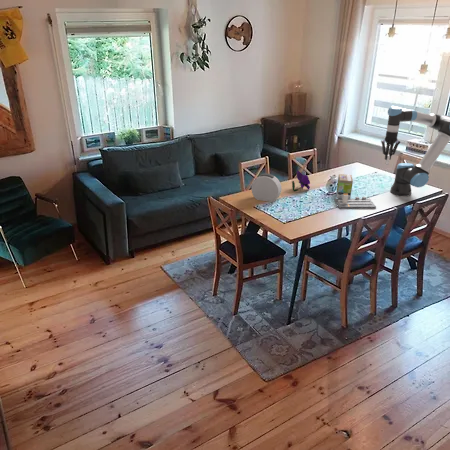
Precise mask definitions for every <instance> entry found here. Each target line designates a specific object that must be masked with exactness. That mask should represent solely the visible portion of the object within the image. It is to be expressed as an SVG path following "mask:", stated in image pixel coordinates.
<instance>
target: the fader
mask: <svg viewBox="0 0 450 450" xmlns="http://www.w3.org/2000/svg"><path fill="white" fill-rule="evenodd" d="M347 201H348V194H343V199H342V202H343V203H347Z"/></svg>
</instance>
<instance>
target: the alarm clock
mask: <svg viewBox="0 0 450 450" xmlns="http://www.w3.org/2000/svg"><path fill="white" fill-rule="evenodd" d="M282 189H283V188H282V184H281V182H280V180H279V179H278V178H277V177H276V176H275V175H273V174H271V173H261V174H260V175H259V176H258V177H256V178H255V180H254V181H253V183H252V184H251V193H252V196H253V197H254V199H255V200H257V201H264V202H269V203H273V202H274V203H275V201H276V200H277V199H278V198H279V197H280V195H281V193H282Z"/></svg>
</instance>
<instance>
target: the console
mask: <svg viewBox="0 0 450 450" xmlns="http://www.w3.org/2000/svg"><path fill="white" fill-rule="evenodd" d="M334 203H335V204H336V206H337V205H338V206H337V207H338V209H340V210H341V209H343V210H346V209H347V210H349V209H351V210H353V209H357V210H358V209H359V210H360V209H363V210H365V209H367V210H368V209H370V210H371V209H377V206H376V205H375V203H374V202H373V201H372V199H371V198H367V196H362V198H360V197H359V196H355V198H350V199H348V201H347V203H343V202H342V199H340V198H334Z"/></svg>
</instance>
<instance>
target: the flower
mask: <svg viewBox="0 0 450 450" xmlns="http://www.w3.org/2000/svg"><path fill="white" fill-rule="evenodd" d="M296 179H297V180H298V183H299V185H298V186H297V187H296V184H295V181H294V180H292V181H291V183H292V184H291V186H292V187H291V189H292V191H293V192H297V191H299V189H297V188H299V187H300V188H304V187H305V188H306V189H307V190H308V191H309V190H310V189H311V186H310V184H311V182H310V179H309V175H307V174H303V173H302V172H300V171H299V170H297V171H296ZM295 187H296V188H295Z"/></svg>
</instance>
